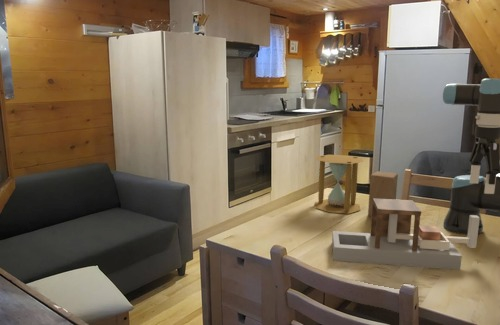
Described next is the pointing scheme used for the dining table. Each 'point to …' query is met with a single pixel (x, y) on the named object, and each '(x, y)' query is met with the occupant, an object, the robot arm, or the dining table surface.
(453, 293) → the dining table surface
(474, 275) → the dining table surface
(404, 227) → the tunnel
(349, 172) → the hourglass
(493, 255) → the dining table surface
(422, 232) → the block
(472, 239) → the slider
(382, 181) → the wooden block
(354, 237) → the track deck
